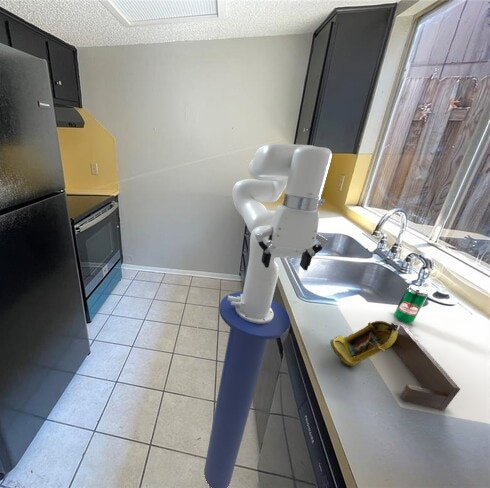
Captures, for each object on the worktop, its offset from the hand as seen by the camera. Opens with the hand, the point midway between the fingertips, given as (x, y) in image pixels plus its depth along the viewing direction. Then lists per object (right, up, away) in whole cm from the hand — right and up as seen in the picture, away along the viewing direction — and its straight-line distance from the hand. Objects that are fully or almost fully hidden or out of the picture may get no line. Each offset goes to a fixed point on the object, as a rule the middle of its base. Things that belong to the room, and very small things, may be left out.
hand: (284, 266), depth 67 cm
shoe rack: (+29, -27, 0) cm, 40 cm away
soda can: (+48, -19, +18) cm, 55 cm away
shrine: (+19, -26, +2) cm, 32 cm away
